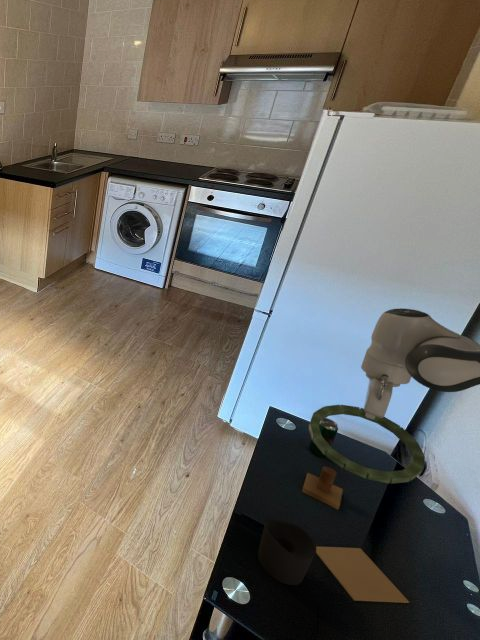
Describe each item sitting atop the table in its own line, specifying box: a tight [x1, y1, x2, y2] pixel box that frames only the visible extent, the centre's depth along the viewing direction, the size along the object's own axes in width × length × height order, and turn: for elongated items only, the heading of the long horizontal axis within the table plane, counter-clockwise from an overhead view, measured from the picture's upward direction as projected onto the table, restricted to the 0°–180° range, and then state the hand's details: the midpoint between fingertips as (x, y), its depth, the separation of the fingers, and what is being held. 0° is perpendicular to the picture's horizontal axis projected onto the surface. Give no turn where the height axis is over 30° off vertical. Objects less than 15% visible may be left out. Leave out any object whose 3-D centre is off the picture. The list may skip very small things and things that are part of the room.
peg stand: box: [301, 465, 344, 511], centre depth 115 cm, size 8×8×8 cm
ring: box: [308, 404, 426, 485], centre depth 101 cm, size 21×21×2 cm
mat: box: [315, 545, 410, 604], centre depth 95 cm, size 12×12×1 cm
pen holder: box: [257, 517, 317, 586], centre depth 94 cm, size 9×9×10 cm
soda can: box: [308, 417, 339, 458], centre depth 129 cm, size 5×5×12 cm
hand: (369, 414), depth 106 cm, fingers closed on ring, 2 cm apart
